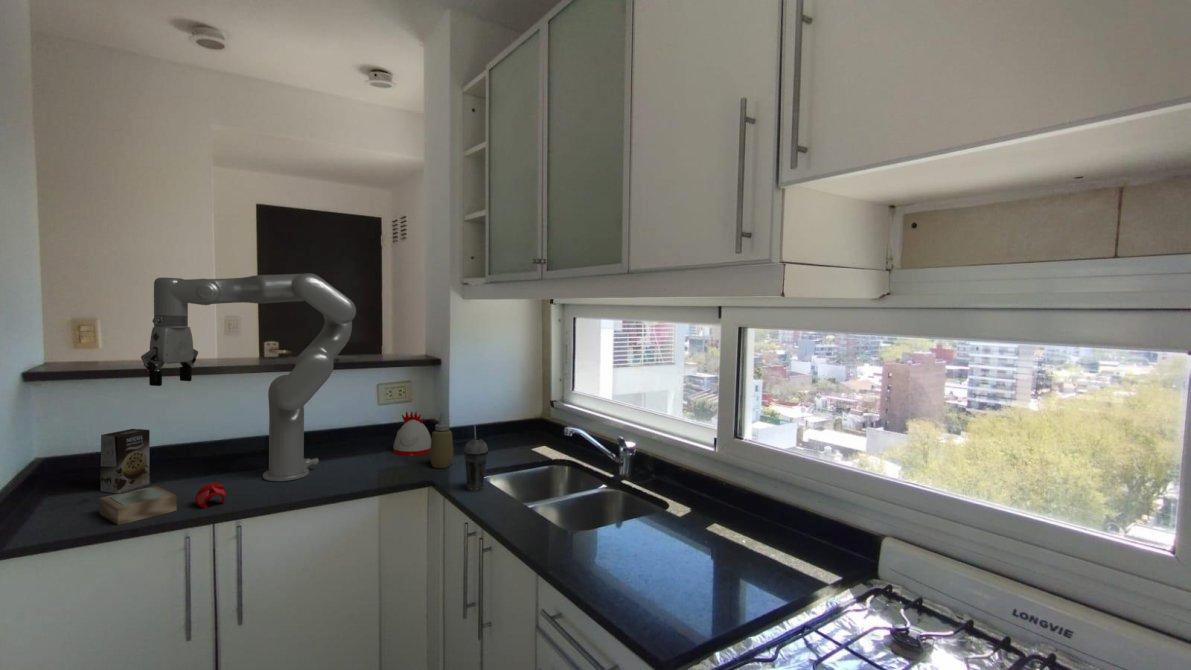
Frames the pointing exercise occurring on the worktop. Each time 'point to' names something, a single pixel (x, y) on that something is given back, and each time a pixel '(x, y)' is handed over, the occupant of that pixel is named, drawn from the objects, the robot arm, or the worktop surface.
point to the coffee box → (124, 460)
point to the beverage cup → (475, 463)
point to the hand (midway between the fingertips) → (171, 383)
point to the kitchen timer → (412, 437)
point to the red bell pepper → (209, 493)
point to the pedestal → (137, 505)
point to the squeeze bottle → (441, 445)
